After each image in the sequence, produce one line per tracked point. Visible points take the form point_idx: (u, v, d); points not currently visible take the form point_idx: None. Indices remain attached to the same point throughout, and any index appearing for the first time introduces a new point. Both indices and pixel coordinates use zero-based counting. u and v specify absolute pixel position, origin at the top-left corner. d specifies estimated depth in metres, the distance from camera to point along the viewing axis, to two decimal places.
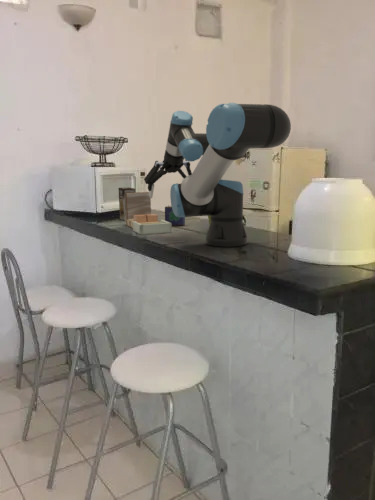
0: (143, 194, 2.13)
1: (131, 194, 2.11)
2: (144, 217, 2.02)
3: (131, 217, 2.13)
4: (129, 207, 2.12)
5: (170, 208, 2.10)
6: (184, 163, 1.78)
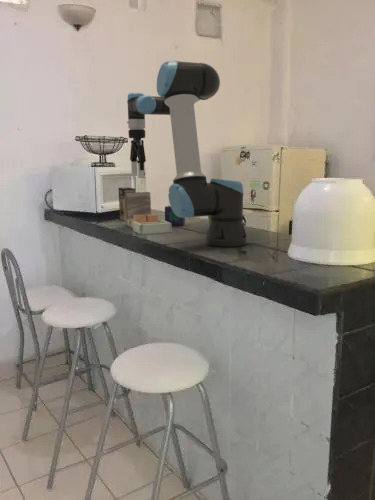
0: (143, 194, 2.13)
1: (131, 194, 2.11)
2: (144, 217, 2.02)
3: (131, 217, 2.13)
4: (129, 207, 2.12)
5: (170, 208, 2.10)
6: None
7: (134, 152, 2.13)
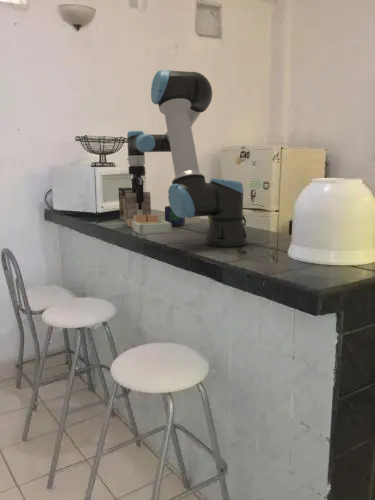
0: None
1: (131, 194, 2.11)
2: (144, 217, 2.02)
3: (131, 217, 2.13)
4: (129, 207, 2.12)
5: (170, 208, 2.10)
6: None
7: (135, 189, 2.15)
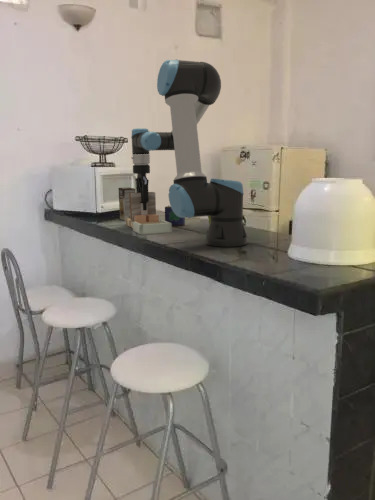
0: (148, 194, 2.06)
1: (135, 194, 2.04)
2: (144, 217, 2.01)
3: None
4: (133, 207, 2.04)
5: (170, 208, 2.10)
6: None
7: (140, 189, 2.08)
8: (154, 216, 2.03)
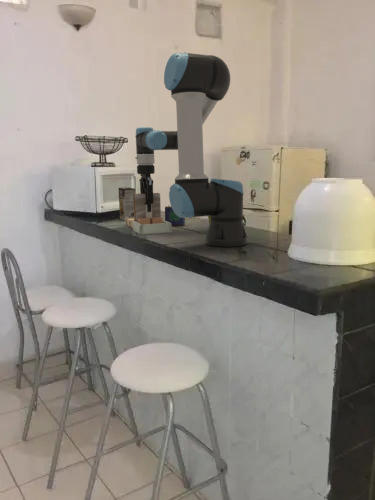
0: None
1: (140, 195, 1.97)
2: None
3: None
4: (137, 209, 1.98)
5: (170, 208, 2.10)
6: None
7: (144, 190, 2.01)
8: None
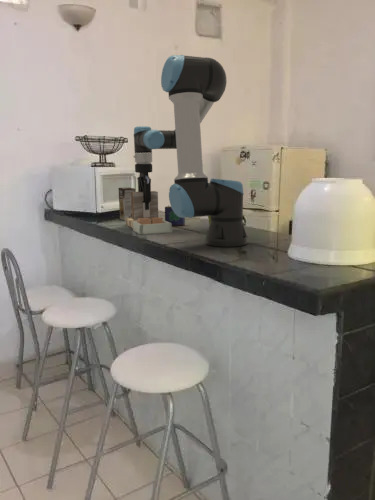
0: None
1: (138, 193, 2.00)
2: None
3: (137, 218, 2.02)
4: (135, 207, 2.01)
5: (170, 208, 2.10)
6: None
7: (142, 188, 2.04)
8: None
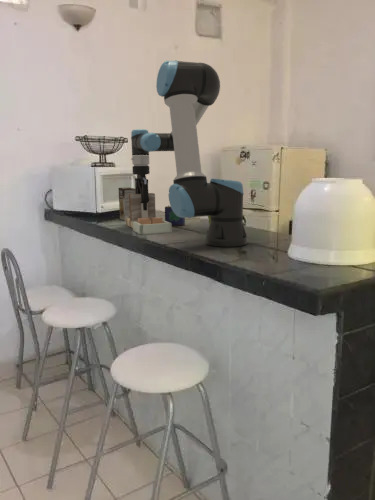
0: None
1: (135, 195, 2.04)
2: None
3: (135, 219, 2.06)
4: (133, 209, 2.05)
5: (170, 208, 2.10)
6: None
7: (139, 189, 2.09)
8: None
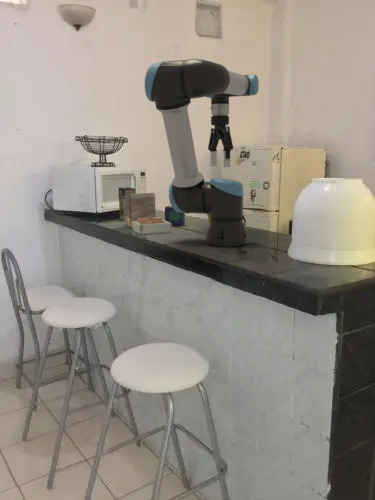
0: (147, 195, 2.06)
1: (135, 195, 2.04)
2: None
3: (135, 219, 2.06)
4: (133, 209, 2.05)
5: (170, 208, 2.10)
6: None
7: (215, 141, 1.98)
8: None
